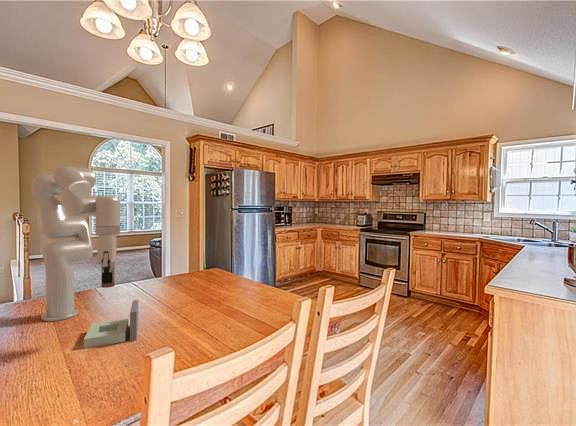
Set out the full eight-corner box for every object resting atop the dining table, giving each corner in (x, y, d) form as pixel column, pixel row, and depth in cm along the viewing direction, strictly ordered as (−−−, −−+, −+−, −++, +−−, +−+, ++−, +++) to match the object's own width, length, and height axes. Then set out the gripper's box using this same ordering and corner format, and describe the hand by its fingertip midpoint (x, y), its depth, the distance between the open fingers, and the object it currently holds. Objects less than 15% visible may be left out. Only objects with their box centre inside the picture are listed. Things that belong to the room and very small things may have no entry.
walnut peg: (102, 285, 107) (102, 257, 107) (115, 284, 109) (115, 257, 108) (100, 288, 103) (100, 259, 103) (113, 287, 105) (113, 259, 105)
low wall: (132, 325, 116) (132, 300, 116) (138, 324, 117) (138, 299, 116) (130, 340, 103) (130, 312, 103) (136, 339, 104) (136, 311, 104)
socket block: (91, 331, 110) (91, 323, 110) (128, 326, 115) (128, 318, 115) (83, 348, 98) (83, 339, 98) (125, 341, 103) (125, 333, 102)
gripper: (99, 229, 111) (99, 277, 112) (91, 233, 96) (91, 289, 97) (122, 228, 115) (122, 275, 115) (117, 232, 99) (117, 286, 100)
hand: (108, 281), depth 106 cm, fingers closed on walnut peg, 4 cm apart
